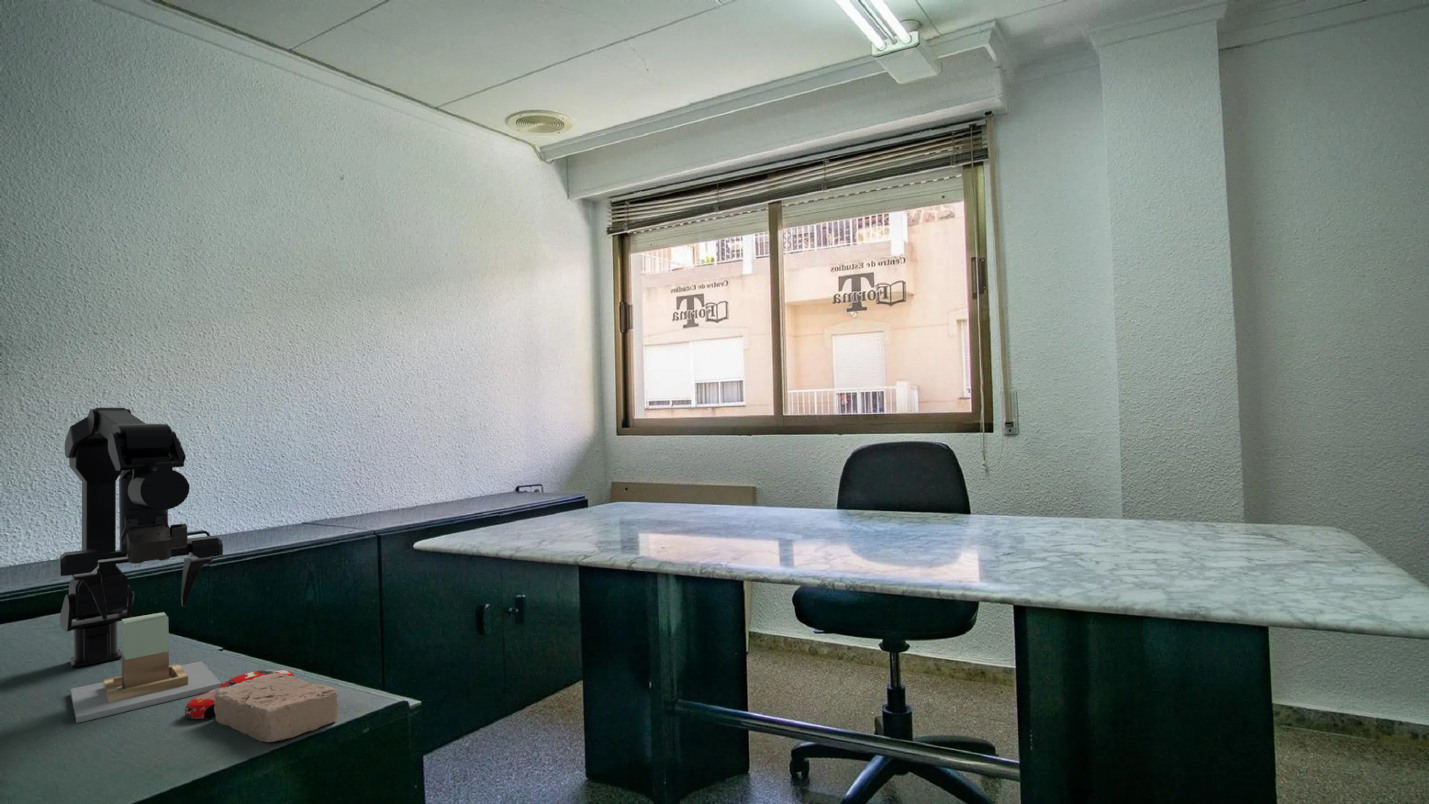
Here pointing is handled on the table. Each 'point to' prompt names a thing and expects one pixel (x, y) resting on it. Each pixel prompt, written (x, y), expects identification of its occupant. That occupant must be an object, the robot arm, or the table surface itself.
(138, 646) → the sage block
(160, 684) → the baseplate
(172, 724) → the table surface
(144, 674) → the walnut block
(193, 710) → the race car
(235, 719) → the brick
